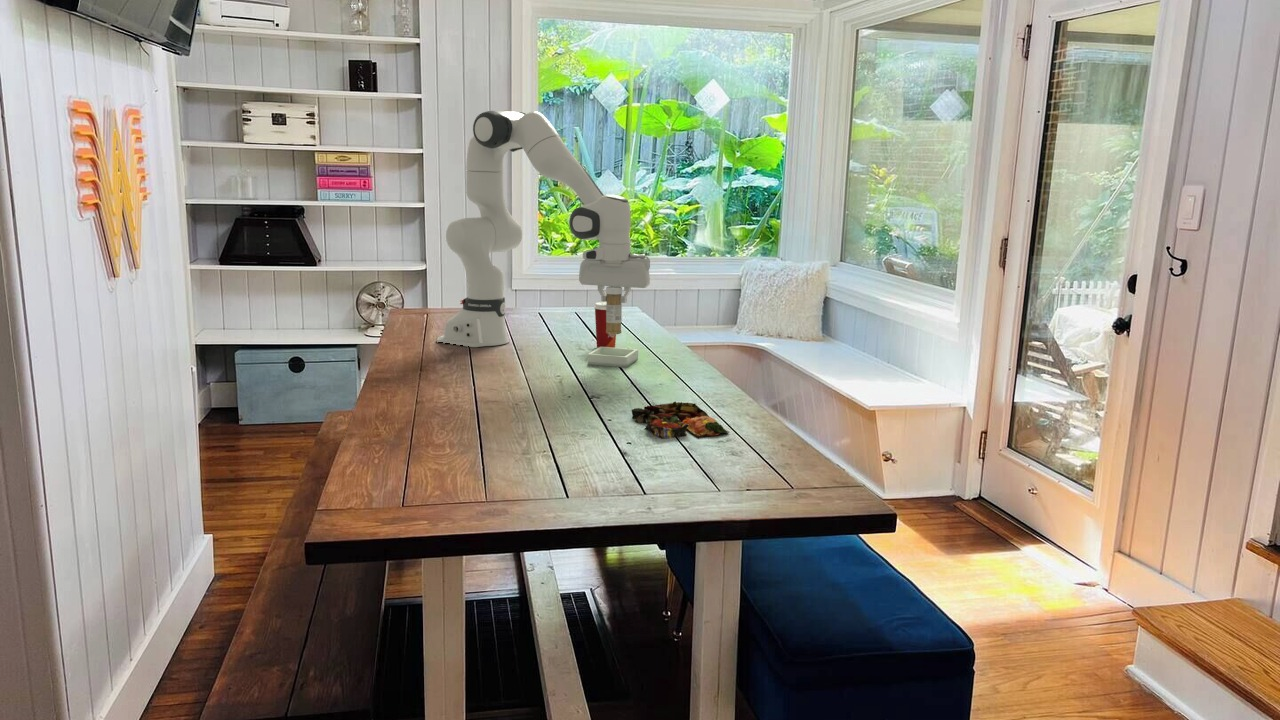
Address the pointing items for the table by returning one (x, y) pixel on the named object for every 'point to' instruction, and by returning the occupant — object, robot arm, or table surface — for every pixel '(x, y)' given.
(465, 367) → the table surface
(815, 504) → the table surface
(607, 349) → the tray
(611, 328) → the sprinkles bottle
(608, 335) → the paper cup
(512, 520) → the table surface
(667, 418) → the food
